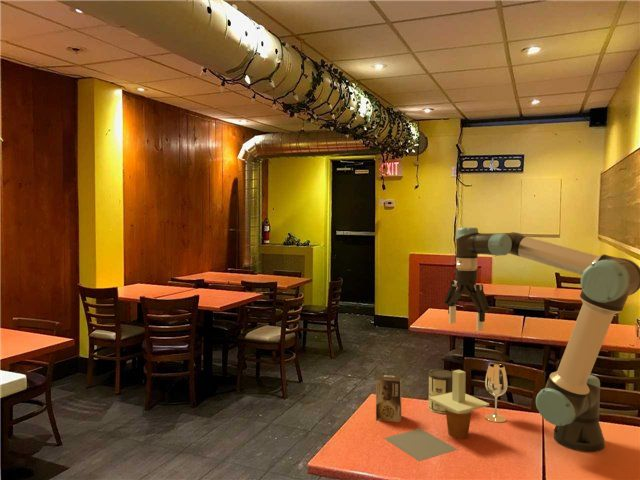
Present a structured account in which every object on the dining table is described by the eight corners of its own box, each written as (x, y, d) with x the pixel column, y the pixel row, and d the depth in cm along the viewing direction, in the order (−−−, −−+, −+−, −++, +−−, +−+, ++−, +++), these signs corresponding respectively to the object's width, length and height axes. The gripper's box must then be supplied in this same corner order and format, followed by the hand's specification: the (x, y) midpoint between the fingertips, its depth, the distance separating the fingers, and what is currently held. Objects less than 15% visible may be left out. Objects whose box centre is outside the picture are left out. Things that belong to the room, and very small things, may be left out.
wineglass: (482, 413, 191) (483, 362, 190) (504, 414, 190) (505, 363, 189) (486, 422, 183) (487, 368, 182) (508, 423, 182) (510, 369, 181)
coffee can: (451, 403, 201) (451, 369, 200) (458, 413, 191) (458, 377, 190) (425, 403, 201) (426, 369, 200) (431, 413, 191) (431, 377, 190)
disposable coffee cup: (473, 444, 165) (474, 409, 164) (444, 442, 166) (444, 406, 166) (471, 432, 174) (471, 398, 173) (443, 430, 176) (443, 396, 175)
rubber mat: (457, 452, 159) (457, 449, 159) (418, 464, 152) (419, 461, 151) (420, 431, 175) (420, 428, 175) (383, 441, 167) (383, 438, 167)
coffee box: (401, 418, 186) (402, 375, 186) (400, 425, 180) (400, 381, 179) (377, 415, 189) (377, 373, 188) (375, 422, 182) (375, 379, 182)
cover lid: (489, 405, 167) (489, 374, 166) (458, 413, 160) (458, 380, 160) (458, 392, 179) (459, 363, 179) (428, 399, 172) (429, 368, 172)
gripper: (435, 266, 192) (434, 321, 193) (485, 273, 170) (484, 334, 171) (449, 265, 195) (449, 319, 196) (501, 272, 174) (499, 332, 175)
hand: (465, 326), depth 184 cm, fingers open, 13 cm apart
